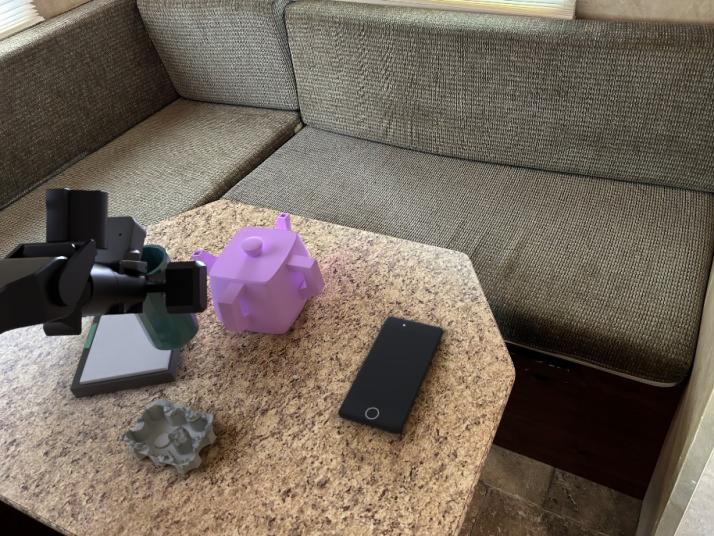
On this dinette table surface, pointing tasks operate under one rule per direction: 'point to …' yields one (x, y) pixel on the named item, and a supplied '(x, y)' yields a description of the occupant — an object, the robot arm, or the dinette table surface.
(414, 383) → the cell phone
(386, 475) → the dinette table surface
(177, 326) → the tumbler
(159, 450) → the egg carton
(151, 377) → the scale
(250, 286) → the teakettle
